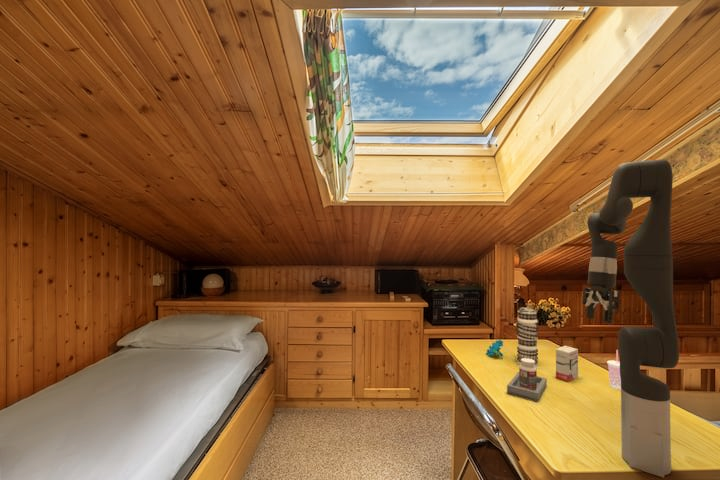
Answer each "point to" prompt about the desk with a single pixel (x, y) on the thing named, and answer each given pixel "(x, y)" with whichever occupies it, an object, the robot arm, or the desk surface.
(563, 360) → the ink box
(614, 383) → the beverage cup
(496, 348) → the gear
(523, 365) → the pill bottle
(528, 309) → the black white patterned cylinder
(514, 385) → the tray
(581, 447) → the desk surface
